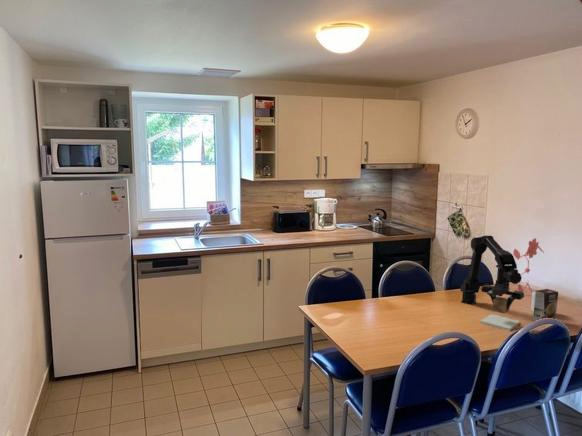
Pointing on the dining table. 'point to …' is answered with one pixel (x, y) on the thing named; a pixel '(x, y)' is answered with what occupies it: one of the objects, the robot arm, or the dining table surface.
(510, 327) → the plate
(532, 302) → the small box
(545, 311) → the coffee box
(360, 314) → the dining table surface
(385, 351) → the dining table surface
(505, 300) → the cube
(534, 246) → the red branching piece
